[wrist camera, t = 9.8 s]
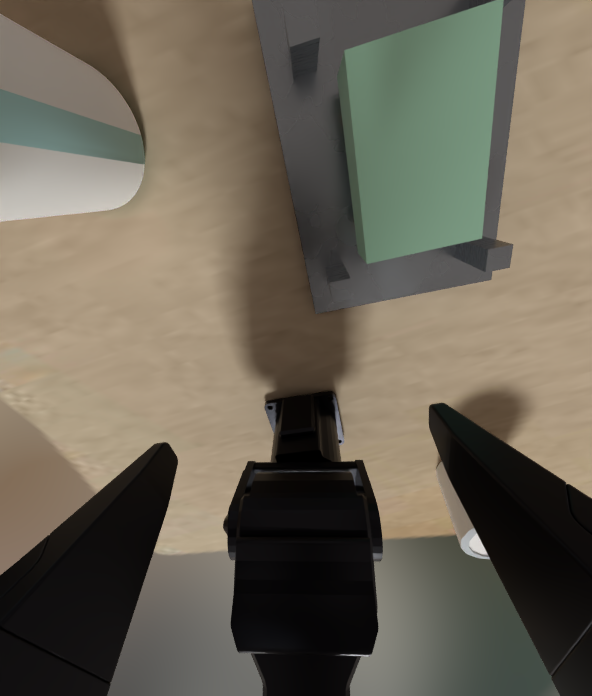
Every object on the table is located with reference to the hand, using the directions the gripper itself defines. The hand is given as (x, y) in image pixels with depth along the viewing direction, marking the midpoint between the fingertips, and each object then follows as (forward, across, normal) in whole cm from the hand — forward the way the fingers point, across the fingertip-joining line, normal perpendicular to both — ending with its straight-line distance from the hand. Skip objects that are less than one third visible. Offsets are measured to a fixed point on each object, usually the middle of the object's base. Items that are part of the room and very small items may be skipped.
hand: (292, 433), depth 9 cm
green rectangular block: (+11, -7, -7) cm, 15 cm away
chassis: (+13, -7, -7) cm, 16 cm away
